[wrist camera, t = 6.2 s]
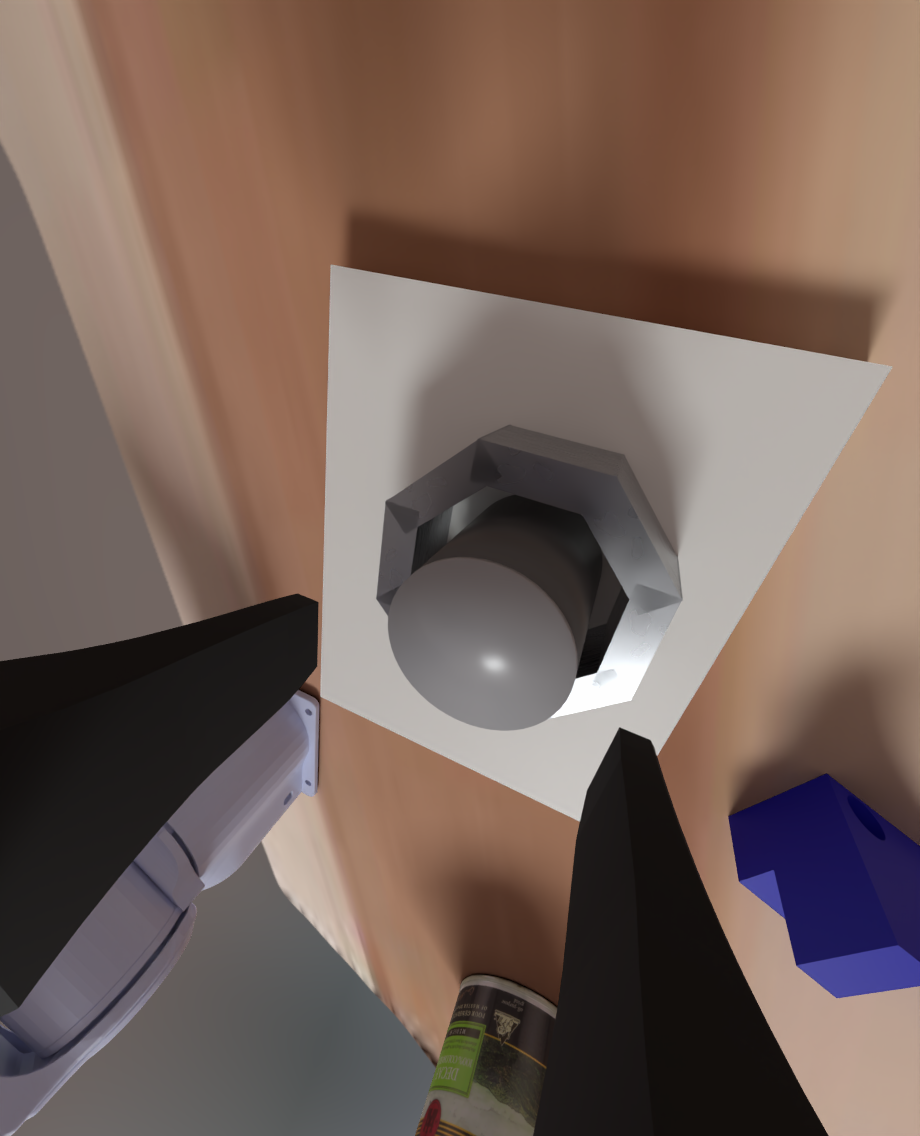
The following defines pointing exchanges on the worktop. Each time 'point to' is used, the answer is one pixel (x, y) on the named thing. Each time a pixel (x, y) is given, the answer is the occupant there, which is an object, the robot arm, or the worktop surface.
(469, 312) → the socket board
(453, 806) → the worktop surface
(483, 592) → the dark gray cylinder
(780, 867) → the blue u-shaped cradle block
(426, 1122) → the coffee can
